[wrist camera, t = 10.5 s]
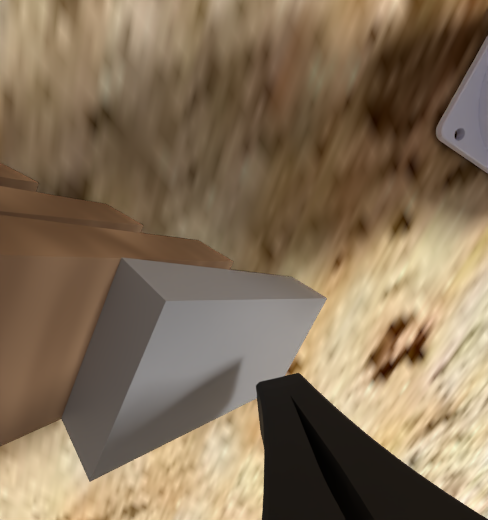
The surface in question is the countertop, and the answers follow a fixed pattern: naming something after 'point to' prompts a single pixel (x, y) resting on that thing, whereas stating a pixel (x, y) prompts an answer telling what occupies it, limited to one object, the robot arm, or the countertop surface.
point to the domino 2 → (180, 354)
